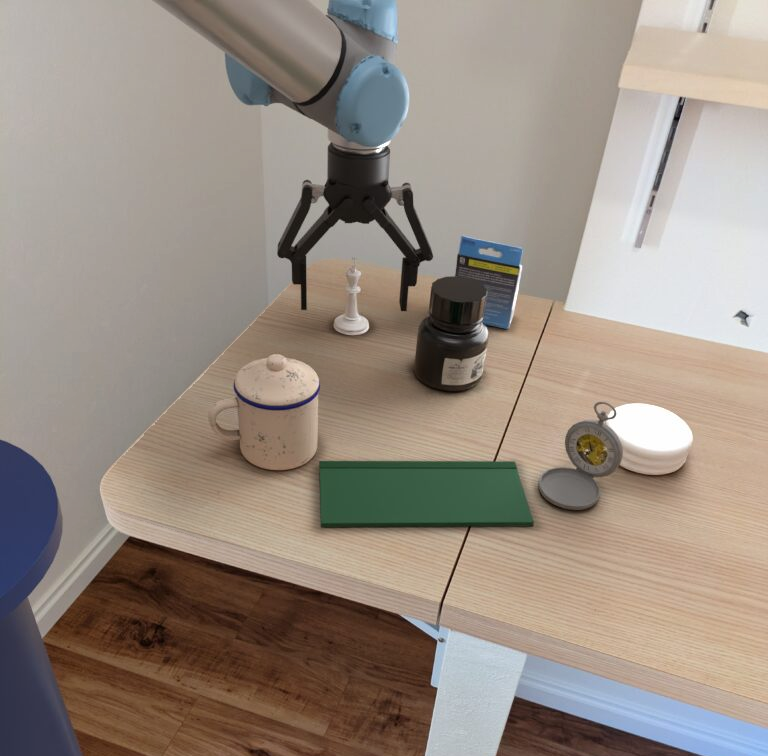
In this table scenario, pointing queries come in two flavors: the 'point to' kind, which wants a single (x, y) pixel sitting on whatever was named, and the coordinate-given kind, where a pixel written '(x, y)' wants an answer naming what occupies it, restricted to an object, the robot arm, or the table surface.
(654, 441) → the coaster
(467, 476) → the green rectangular panel
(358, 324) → the chess piece
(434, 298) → the ink bottle
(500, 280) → the label tape box
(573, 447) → the pocket watch
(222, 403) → the teacup with lid
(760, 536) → the table surface
